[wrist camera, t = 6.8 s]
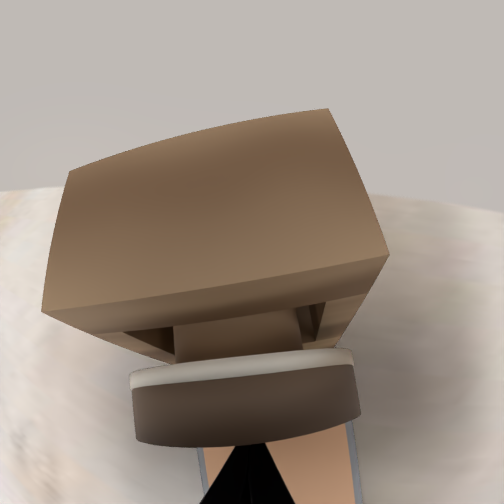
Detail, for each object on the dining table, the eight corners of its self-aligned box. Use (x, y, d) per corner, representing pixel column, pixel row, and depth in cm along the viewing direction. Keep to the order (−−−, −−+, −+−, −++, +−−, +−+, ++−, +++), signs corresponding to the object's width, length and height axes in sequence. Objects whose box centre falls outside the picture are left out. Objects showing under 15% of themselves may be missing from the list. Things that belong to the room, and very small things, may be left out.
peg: (344, 408, 11) (392, 417, 5) (182, 428, 11) (85, 441, 5) (305, 220, 14) (303, 109, 9) (172, 245, 15) (106, 155, 9)
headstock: (329, 354, 16) (389, 254, 5) (200, 373, 16) (41, 312, 5) (315, 285, 17) (328, 108, 7) (195, 305, 18) (69, 171, 7)
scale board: (364, 555, 10) (367, 561, 9) (222, 570, 10) (219, 576, 9) (339, 355, 15) (340, 353, 15) (192, 377, 16) (187, 376, 15)
